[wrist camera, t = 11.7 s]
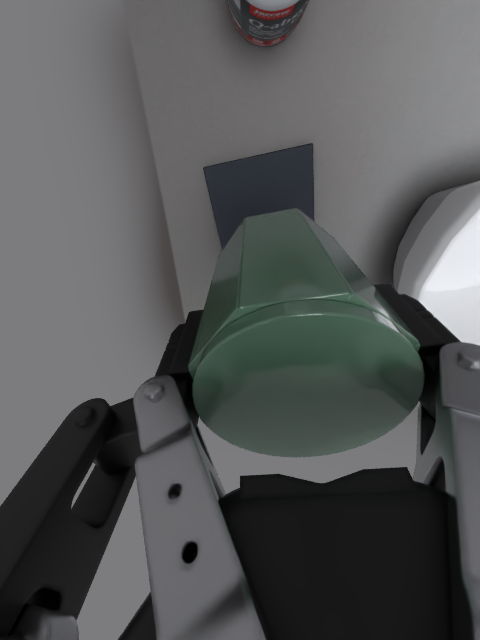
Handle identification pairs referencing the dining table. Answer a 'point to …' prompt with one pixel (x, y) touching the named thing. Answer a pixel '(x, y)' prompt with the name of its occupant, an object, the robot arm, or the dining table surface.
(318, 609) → the robot arm
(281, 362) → the cup
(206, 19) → the dining table surface
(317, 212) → the dining table surface
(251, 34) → the pill bottle
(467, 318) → the bowl
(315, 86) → the dining table surface
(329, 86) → the dining table surface
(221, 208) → the coaster
